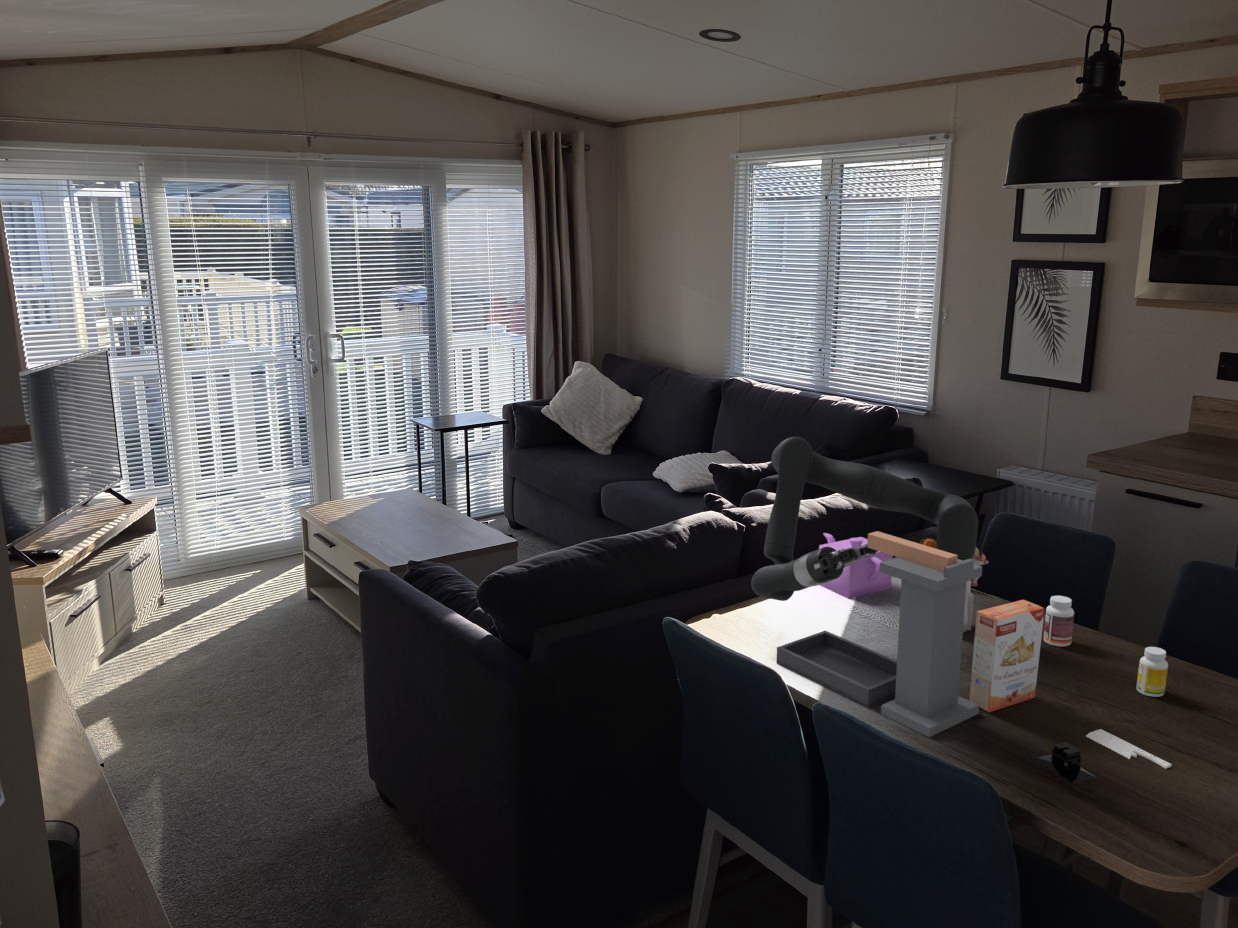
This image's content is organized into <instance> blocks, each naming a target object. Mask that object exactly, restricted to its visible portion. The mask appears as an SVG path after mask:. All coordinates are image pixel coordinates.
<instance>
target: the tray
mask: <svg viewBox="0 0 1238 928" xmlns="http://www.w3.org/2000/svg"><path fill="white" fill-rule="evenodd" d="M776 664H777V665H779V666H781V667H783V668H785V669H787V670H790V671H791V672H793V673H796V674H798V675H800V676H801V677H804V678H806V679H808V680H810V681H812V682H814V683H816V684H818V685H820V686H822V687H825V688H827V689H828V690H830V691H833V692H834V693H836V694H839V695H840V696H843V697H845V698H846V699H849V700H851V701H853V702H855V703H857V704H859V705H862V706H863V707H866V708H870V707H873V706H875V705H877V704H879V703H880V704H881V703H882V702H884V701H887V700H889V699H891V698H893V697H894V698H895V691H896V672H897V659H894V658H891V657H888V656H886V655H884V654H882V653H880V652H877V651H874V650H872V649H870V648H868V647H865V646H863V645H860V644H857V643H856V642H853V641H851V640H848V639H846V638H844V637H842V636H839V635H838V634H837V635H836V634H835V633H832V632H830V631H827V630H823V631H820V632H818V633H814V634H811V635H808V636H805V637H802V638H800V639H796V640H794V641H792V642H788V643H786V644H783V645H781V646H777V647H776Z"/></svg>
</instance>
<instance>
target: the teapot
mask: <svg viewBox="0 0 1238 928" xmlns="http://www.w3.org/2000/svg"><path fill="white" fill-rule="evenodd" d="M822 535H823V536H824V537H825V538H826V541H827V543H824V544H819V547H818V549H821V548H823V547H831V548H834V549H835V550H836V551H837V552H838V550H841V549H848V548H850V547H853V546H859V547H860V546H863V545H865V544H867V542H868V538H866V537H862V536H858V537H851V538H849V539H843V540H839V541H836V539H835V538H834V536H833V535H832V534H830V533H826V532H823V534H822ZM893 557H894V556H893V555H890V554H887V553H883V552H880V551H878V552H876V553H875V554H874V555H871V556H867V557H864V558H863V560H861V561H858V562H855V563H852V564H851V565H850V566H847V567H844V569H843V573H842V574H841V576H840V577H839V578H837V579H834V580H832V581H829V582H826V583H823V584H820V585H819V586H821V587H822V588H824V589H827V590H829V591H831V592H832V593H835V594H837V595H839V596H842V597H844V598H846V599H847V600H849V599H854V598H859V597H863V596H867V595H871V594H874V593H875V594H877V593H880V592H883V591H887V590H891V589H892V577H893V576H890V575H887V574H884V573H881V572H879V571H880V562H883V561H886V560H890V559H893ZM854 560H855V559H854ZM854 560H852V561H854ZM850 562H851V561H850Z"/></svg>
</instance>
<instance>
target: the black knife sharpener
mask: <svg viewBox="0 0 1238 928" xmlns="http://www.w3.org/2000/svg"><path fill="white" fill-rule="evenodd" d="M1081 754H1082V753H1081V750H1080V749H1078V748H1076V747H1075V746H1073V745H1071V744H1070V743H1068V742H1067V741H1065V742H1061V743H1057V744H1054V745H1053V748H1052V750H1051V753H1050V754H1047V755H1042V756H1038V757H1035V759H1036V760H1038V761H1039V762H1040V763H1042V764H1043V765H1044V766H1046V767H1048V768H1049V769H1050V770H1052V771H1054V772H1055V773H1057V774H1058V775H1059V776H1061V777H1063V778H1064V779H1065V780H1066V781H1068V782H1069V783H1071V784H1078V783H1080V782H1086V781H1090V780H1095V779H1097V776H1095V774H1093V773H1091V772H1090V771H1088V770H1087V769H1085V768H1083V767H1082V756H1081Z"/></svg>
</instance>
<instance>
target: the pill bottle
mask: <svg viewBox="0 0 1238 928" xmlns="http://www.w3.org/2000/svg"><path fill="white" fill-rule="evenodd" d="M1072 602H1073V600H1072V599H1071V598H1070V597H1068V596H1063V595H1051V597H1050V599H1049V603H1050V605H1048V606H1047V607H1046V609H1045V616H1044V619H1045V620H1044V629H1043V630H1044V632H1043V641H1044V642H1045V643H1047V644H1048V645H1050V646H1055V647H1060V648H1061V647H1068V646H1070V645H1071V644H1072V640H1073V630H1074V619H1075V611H1074V609H1073V608H1072Z"/></svg>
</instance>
